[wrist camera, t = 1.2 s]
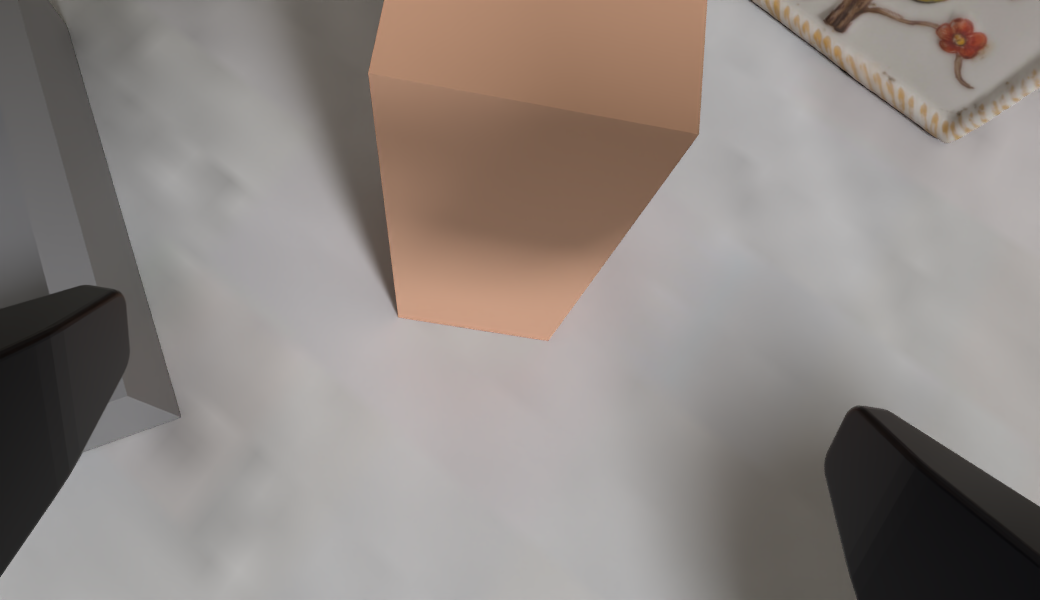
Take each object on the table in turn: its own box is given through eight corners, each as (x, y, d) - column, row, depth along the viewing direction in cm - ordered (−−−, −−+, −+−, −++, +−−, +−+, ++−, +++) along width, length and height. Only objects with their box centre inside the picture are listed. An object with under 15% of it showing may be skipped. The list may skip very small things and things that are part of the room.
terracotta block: (548, 341, 22) (698, 134, 10) (398, 317, 21) (368, 73, 10) (564, 204, 23) (715, -123, 11) (423, 180, 23) (424, -185, 11)
